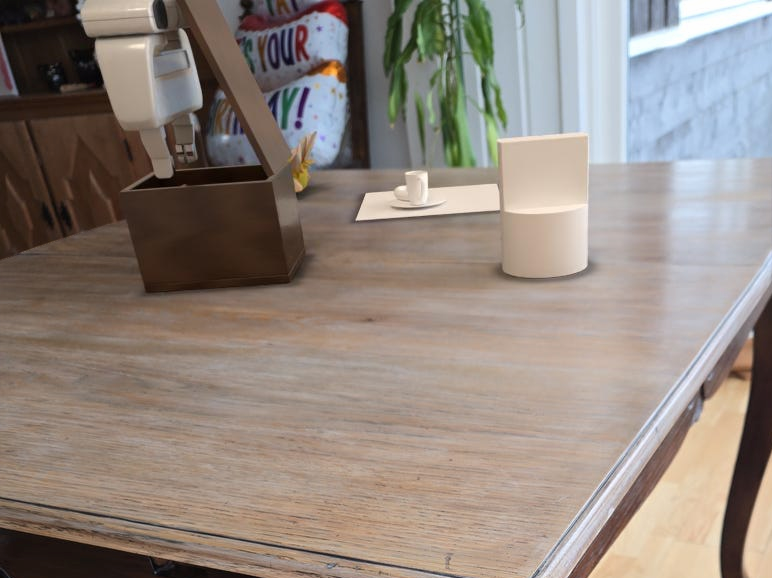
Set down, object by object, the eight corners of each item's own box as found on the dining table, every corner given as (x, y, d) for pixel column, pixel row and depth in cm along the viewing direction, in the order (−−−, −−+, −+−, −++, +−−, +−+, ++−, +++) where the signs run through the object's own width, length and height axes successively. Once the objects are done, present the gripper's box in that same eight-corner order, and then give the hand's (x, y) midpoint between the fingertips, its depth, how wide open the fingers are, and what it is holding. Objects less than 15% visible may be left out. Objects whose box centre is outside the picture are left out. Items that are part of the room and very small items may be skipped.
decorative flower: (254, 173, 146) (255, 104, 139) (323, 187, 146) (327, 119, 140) (230, 199, 134) (229, 125, 128) (304, 214, 135) (307, 141, 129)
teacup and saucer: (391, 200, 129) (388, 169, 127) (446, 196, 129) (443, 165, 127) (388, 212, 122) (384, 179, 120) (446, 208, 122) (443, 175, 120)
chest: (145, 292, 95) (118, 192, 90) (175, 263, 106) (152, 171, 100) (290, 282, 95) (272, 181, 89) (306, 254, 105) (290, 161, 100)
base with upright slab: (506, 281, 90) (501, 147, 83) (498, 259, 98) (492, 135, 90) (594, 273, 91) (596, 139, 84) (579, 253, 98) (580, 128, 91)
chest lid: (171, -8, 80) (178, -13, 80) (203, -8, 90) (209, -12, 90) (267, 177, 89) (274, 174, 89) (286, 158, 99) (293, 155, 99)
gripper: (139, 9, 94) (173, 156, 103) (73, 14, 78) (119, 188, 86) (198, 5, 94) (227, 153, 102) (144, 9, 78) (184, 184, 86)
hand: (178, 169), depth 94 cm, fingers open, 8 cm apart
